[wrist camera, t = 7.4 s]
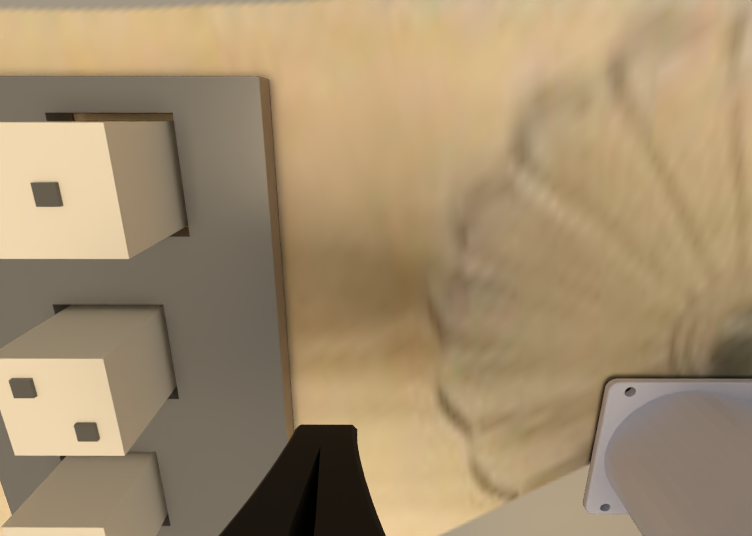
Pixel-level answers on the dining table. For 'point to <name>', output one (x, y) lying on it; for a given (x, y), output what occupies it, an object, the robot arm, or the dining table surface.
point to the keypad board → (180, 290)
